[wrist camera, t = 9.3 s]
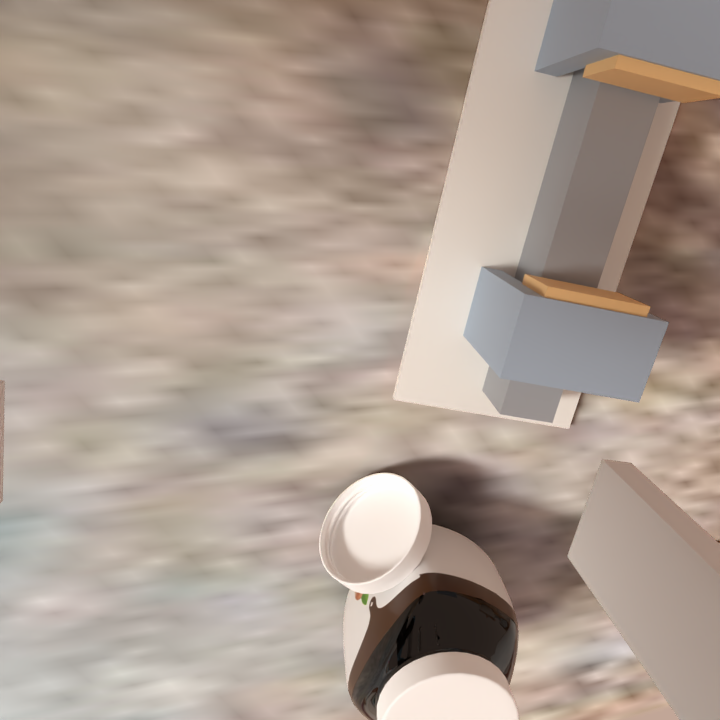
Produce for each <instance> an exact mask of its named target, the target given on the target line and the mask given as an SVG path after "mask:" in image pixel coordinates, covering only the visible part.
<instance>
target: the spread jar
mask: <svg viewBox="0 0 720 720" xmlns="http://www.w3.org/2000/svg"><path fill="white" fill-rule="evenodd" d="M319 549H320V556H321V560H322V563H323V565H324V567H325V569H326V571H327V572H328V573H329V574H330V575H331V576H332V577H333V578H334V579H336V580H337V581H339V582H340V583H341V584H343V585H344V586H346V587H347V588H349V592H348V596H347V600H346V604H345V612H344V619H343V643H344V658H345V671H346V681H347V686H348V691H349V694H350V696H351V699H352V702H353V704H354V706H355V707H356V708H357V709H358V710H359V711H360V712H361V714H362V715H363V716H364V717H366V718H367V719H368V720H519V712H518V707H517V704H516V702H515V699H514V697H513V694H512V691H511V689H510V686H509V685H510V682H511V678H512V675H513V670H514V666H515V662H516V657H517V649H518V625H517V619H516V616H515V612H514V608H513V605H512V602H511V600H510V597H509V595H508V592H507V590H506V588H505V586H504V584H503V582H502V579H501V577H500V575H499V573H498V571H497V569H496V567H495V565H494V564H493V562H492V561H491V559H490V558H489V556H488V555H487V554H486V553H485V552H484V551H483V550H482V549H481V548H480V547H479V546H478V545H477V544H475V543H474V542H473V541H471V540H470V539H468V538H467V537H465V536H463V535H461V534H459V533H457V532H455V531H453V530H451V529H448V528H446V527H443V526H440V525H436V524H432V516H431V511H430V507H429V505H428V503H427V501H426V499H425V498H424V497H423V495H422V494H421V493H420V492H419V491H418V490H417V489H416V488H415V487H414V486H413V485H412V484H411V483H410V482H409V481H408V480H406V479H405V478H404V477H402V476H399V475H397V474H394V473H375V474H372V475H369V476H366V477H364V478H362V479H360V480H358V481H356V482H355V483H353V484H352V485H350V486H349V487H348V488H347V489H346V490H344V491H343V492H342V493H341V494H340V495H339V497H338V498H337V499H336V500H335V502H334V503H333V504H332V506H331V508H330V509H329V511H328V513H327V515H326V517H325V519H324V522H323V525H322V528H321V532H320V540H319Z"/></svg>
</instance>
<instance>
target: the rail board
mask: <svg viewBox="0 0 720 720" xmlns="http://www.w3.org/2000/svg"><path fill="white" fill-rule="evenodd" d="M552 4H553V0H489V1H488V5H487V9H486V14H485V18H484V22H483V26H482V30H481V34H480V38H479V43H478V47H477V51H476V55H475V59H474V63H473V67H472V72H471V76H470V80H469V84H468V88H467V92H466V96H465V101H464V105H463V109H462V113H461V117H460V121H459V125H458V129H457V134H456V138H455V142H454V146H453V150H452V154H451V158H450V163H449V167H448V171H447V175H446V179H445V183H444V187H443V192H442V196H441V200H440V204H439V208H438V212H437V216H436V220H435V225H434V229H433V233H432V237H431V241H430V245H429V249H428V254H427V258H426V262H425V266H424V270H423V274H422V278H421V283H420V287H419V291H418V295H417V299H416V303H415V307H414V311H413V316H412V320H411V324H410V328H409V332H408V336H407V340H406V345H405V349H404V353H403V357H402V361H401V365H400V369H399V374H398V378H397V382H396V386H395V390H394V394H393V398H394V400H397V401H404V402H410V403H416V404H422V405H428V406H434V407H440V408H446V409H452V410H458V411H464V412H470V413H476V414H482V415H488V416H494V417H500V418H506V419H513V420H519V421H525V422H531V423H537V424H543V425H549V426H555V427H561V428H567V429H569V427H570V424H571V421H572V418H573V415H574V412H575V409H576V407H577V404H578V401H579V398H580V395H581V392H576V391H570V390H564V389H559V388H553V387H547V386H541V385H536V384H530V383H524V382H518V381H513V380H507V379H501V378H499V376H498V375H497V374H496V373H495V372H494V371H493V370H492V368H491V367H490V366H489V365H488V364H487V363H486V361H485V360H484V359H483V358H482V357H481V356H480V354H479V353H478V352H477V351H476V350H475V349H474V348H473V346H472V345H471V344H470V343H469V342H468V341H467V339H466V338H465V337H464V336H463V334H464V330H465V326H466V323H467V319H468V315H469V312H470V308H471V304H472V300H473V297H474V293H475V289H476V286H477V282H478V278H479V274H480V271H481V267H487V268H492V269H497V270H502V271H504V272H505V273H507V274H509V275H510V276H512V277H514V278H516V279H517V280H519V281H521V282H523V278H524V275H525V274H528V275H533V276H538V277H543V278H548V279H553V280H558V281H563V282H568V283H573V284H578V285H583V286H588V287H593V288H598V289H603V290H608V291H613V292H616V290H617V287H618V284H619V281H620V278H621V275H622V272H623V269H624V266H625V263H626V260H627V257H628V255H629V252H630V249H631V246H632V243H633V240H634V237H635V234H636V231H637V228H638V225H639V222H640V219H641V217H642V214H643V211H644V208H645V205H646V202H647V199H648V196H649V193H650V190H651V187H652V184H653V181H654V179H655V176H656V173H657V170H658V167H659V164H660V161H661V158H662V155H663V152H664V149H665V146H666V143H667V140H668V138H669V135H670V132H671V129H672V126H673V123H674V120H675V117H676V114H677V111H678V108H679V105H680V102H677V101H673V102H666V103H659V100H660V97H658V96H654V95H650V94H646V93H642V92H638V91H634V90H630V89H626V88H622V87H619V86H615V85H611V84H607V83H603V82H599V81H595V80H591V79H587V78H583V73H584V70H585V68H583V69H580V70H577V71H573V72H570V73H567V74H564V75H561V76H558V77H556V76H552V75H548V74H544V73H540V72H536V71H535V67H536V63H537V59H538V56H539V52H540V48H541V45H542V41H543V37H544V34H545V30H546V26H547V22H548V19H549V15H550V11H551V8H552Z"/></svg>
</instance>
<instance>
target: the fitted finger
mask: <svg viewBox="0 0 720 720" xmlns="http://www.w3.org/2000/svg"><path fill="white" fill-rule="evenodd" d="M583 68H585V70H584V73H583V78H587V79H591V80H595V81H599V82H603V83H607V84H611V85H615V86H619V87H622V88H626V89H630V90H634V91H638V92H642V93H646V94H650V95H654V96H658V97H660V100H659V103H666V102H673V101H677V102H681V103H688V102H695V101H702V100H709V99H716V98H720V0H553V4H552V8H551V11H550V15H549V19H548V22H547V26H546V30H545V34H544V37H543V41H542V45H541V48H540V52H539V56H538V59H537V63H536V67H535V71H536V72H540V73H544V74H548V75H552V76H556V77H558V76H561V75H564V74H567V73H570V72H573V71H577V70H580V69H583Z"/></svg>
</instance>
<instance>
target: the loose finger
mask: <svg viewBox="0 0 720 720" xmlns="http://www.w3.org/2000/svg"><path fill="white" fill-rule="evenodd" d="M649 310H650V306H648V305H645V304H643V303H641V302H639V301H636V300H634V299H632V298H629V297H627V296H625V295H623V294H620V293H618V292H613V291H608V290H603V289H598V288H593V287H588V286H583V285H578V284H573V283H568V282H563V281H558V280H553V279H548V278H543V277H538V276H533V275H528V274H525V275H524V278H523V282H521V281H519V280H517V279H516V278H514V277H512V276H510V275H509V274H507V273H505V272H504V271H502V270H497V269H492V268H487V267H481V271H480V274H479V278H478V282H477V286H476V289H475V293H474V297H473V300H472V304H471V308H470V312H469V315H468V319H467V323H466V326H465V330H464V334H463V336H464V337H465V338H466V339H467V341H468V342H469V343H470V344H471V345H472V346H473V348H474V349H475V350H476V351H477V352H478V353H479V354H480V356H481V357H482V358H483V359H484V360H485V361H486V363H487V364H488V365H489V366H490V367H491V368H492V370H493V371H494V372H495V373H496V374H497V375H498V376H499V378H501V379H507V380H513V381H518V382H524V383H530V384H536V385H541V386H547V387H553V388H559V389H564V390H570V391H576V392H582V393H587V394H593V395H599V396H605V397H610V398H616V399H622V400H628V401H633V402H639V401H640V399H641V396H642V393H643V391H644V388H645V385H646V383H647V380H648V377H649V375H650V372H651V369H652V367H653V364H654V361H655V359H656V356H657V353H658V351H659V348H660V345H661V343H662V340H663V337H664V335H665V332H666V329H667V327H668V324H669V322H667V321H665V320H663V319H661V318H659V317H656V316H654V315H652V314H650V313H649Z"/></svg>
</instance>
